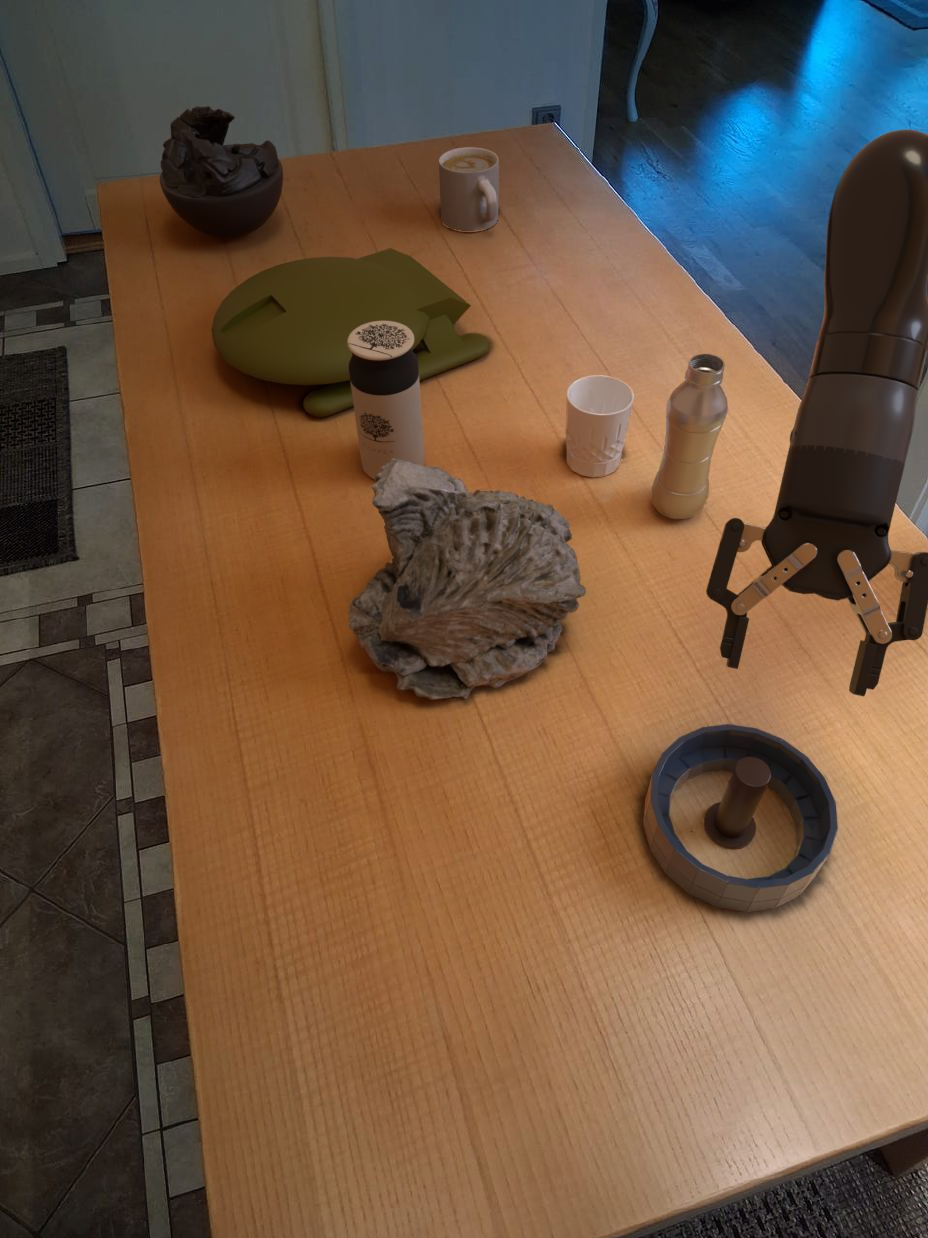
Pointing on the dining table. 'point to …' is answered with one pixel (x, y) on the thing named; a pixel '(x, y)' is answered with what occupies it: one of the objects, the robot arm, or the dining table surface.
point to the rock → (463, 583)
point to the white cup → (597, 424)
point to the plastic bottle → (690, 438)
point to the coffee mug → (469, 188)
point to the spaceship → (337, 321)
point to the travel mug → (386, 395)
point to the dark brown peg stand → (738, 805)
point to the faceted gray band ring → (788, 780)
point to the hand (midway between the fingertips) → (793, 680)
